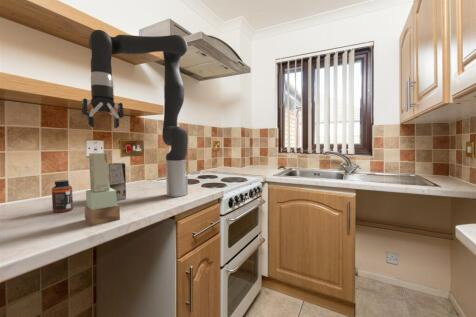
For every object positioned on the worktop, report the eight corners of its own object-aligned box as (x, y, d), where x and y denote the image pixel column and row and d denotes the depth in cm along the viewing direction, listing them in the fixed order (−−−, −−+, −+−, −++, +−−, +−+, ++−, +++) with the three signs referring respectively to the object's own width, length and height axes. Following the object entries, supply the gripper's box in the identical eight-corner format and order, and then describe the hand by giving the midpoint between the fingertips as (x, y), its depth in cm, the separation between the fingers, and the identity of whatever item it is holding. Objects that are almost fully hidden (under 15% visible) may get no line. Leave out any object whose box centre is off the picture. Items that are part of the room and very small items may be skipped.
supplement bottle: (74, 210, 83) (73, 180, 82) (54, 214, 78) (52, 182, 78) (71, 207, 87) (69, 178, 86) (51, 210, 82) (49, 180, 81)
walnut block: (111, 214, 78) (111, 201, 78) (120, 220, 73) (119, 205, 73) (85, 220, 73) (84, 205, 72) (91, 226, 67) (91, 210, 67)
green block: (110, 201, 77) (109, 187, 77) (116, 205, 72) (116, 190, 72) (86, 205, 72) (85, 190, 72) (91, 210, 67) (91, 193, 67)
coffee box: (126, 199, 100) (125, 163, 99) (110, 201, 96) (109, 164, 95) (124, 195, 107) (123, 162, 106) (109, 196, 104) (108, 162, 103)
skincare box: (110, 190, 71) (109, 153, 71) (94, 192, 68) (93, 153, 68) (105, 188, 76) (103, 152, 75) (90, 189, 73) (88, 152, 72)
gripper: (118, 90, 94) (119, 128, 96) (77, 84, 84) (80, 127, 85) (125, 87, 89) (126, 128, 91) (83, 80, 79) (85, 126, 80)
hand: (104, 127), depth 88 cm, fingers open, 8 cm apart
